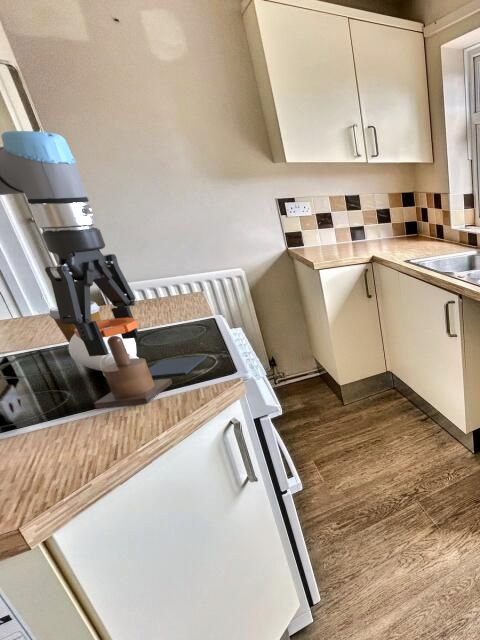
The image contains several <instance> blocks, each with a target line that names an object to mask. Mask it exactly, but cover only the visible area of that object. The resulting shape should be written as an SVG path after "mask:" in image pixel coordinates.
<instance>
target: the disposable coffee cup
mask: <svg viewBox="0 0 480 640" xmlns="http://www.w3.org/2000/svg"><path fill="white" fill-rule="evenodd" d="M90 302H91V321H101V320H102V319H101V314H100V308H101V307H100V306H99V305H98V304H97V303H96V302H95V301H90ZM48 316H49V317H51V319H52V320H53V321H54V322H55V324H56V325H57V327H58V328H59V330H60V331H61V333H62V334H63V336H64V338H65V340H67V343H69V342H70V340H71V338H72V336H73V335H74V334H75V331H74V329H75V328H76V326H75V325H74V324H63V323H62V322H61V320H60V316H59V312H58V308H57V306H54V307H51V308H50V309H49V314H48ZM81 316H82V315H81ZM69 317H70V316H69ZM82 317H83V316H82Z"/></svg>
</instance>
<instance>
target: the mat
mask: <svg viewBox="0 0 480 640" xmlns="http://www.w3.org/2000/svg"><path fill="white" fill-rule="evenodd" d="M207 358H208V357H207V355H200V356H189V357H178V358H177V357H175V358H167V359H161V360H159V361H158V362H156V363H155V364H153V365H152V366H150V367H148V368H149V371H150V374H151V376H152V379H154V378H162V377H173V376H181V375H182V376H183V375H184V376H185V375H187V374H189V372H191V371H192V370H194V368H196V367H197V366H199V365H200V364H201V363H202V362H203V361H205V360H206V359H207Z"/></svg>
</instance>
